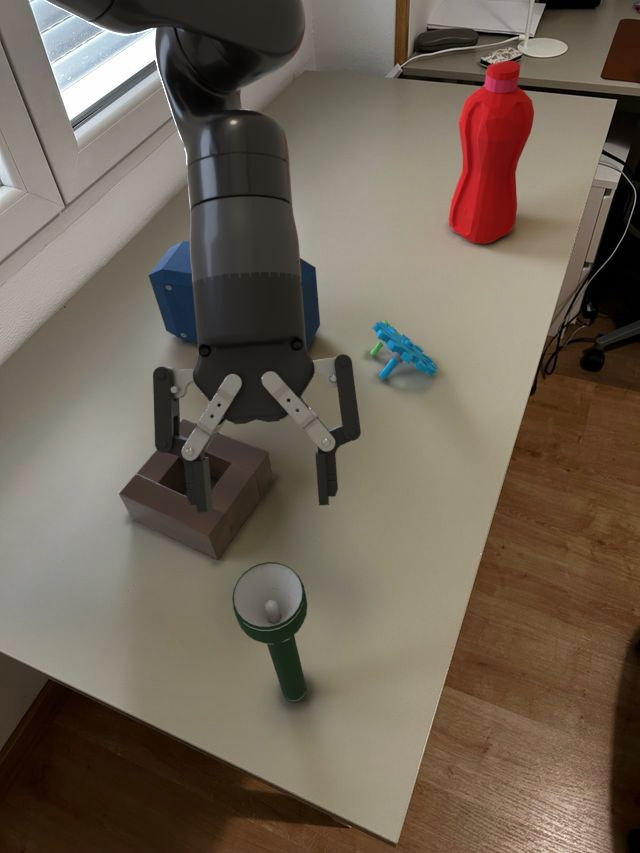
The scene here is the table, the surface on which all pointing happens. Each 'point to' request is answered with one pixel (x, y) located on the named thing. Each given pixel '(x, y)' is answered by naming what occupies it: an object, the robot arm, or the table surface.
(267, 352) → the robot arm
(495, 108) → the water bottle
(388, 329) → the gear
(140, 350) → the table surface
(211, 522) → the holder
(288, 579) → the flashlight
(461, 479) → the table surface
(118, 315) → the table surface
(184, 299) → the radio
